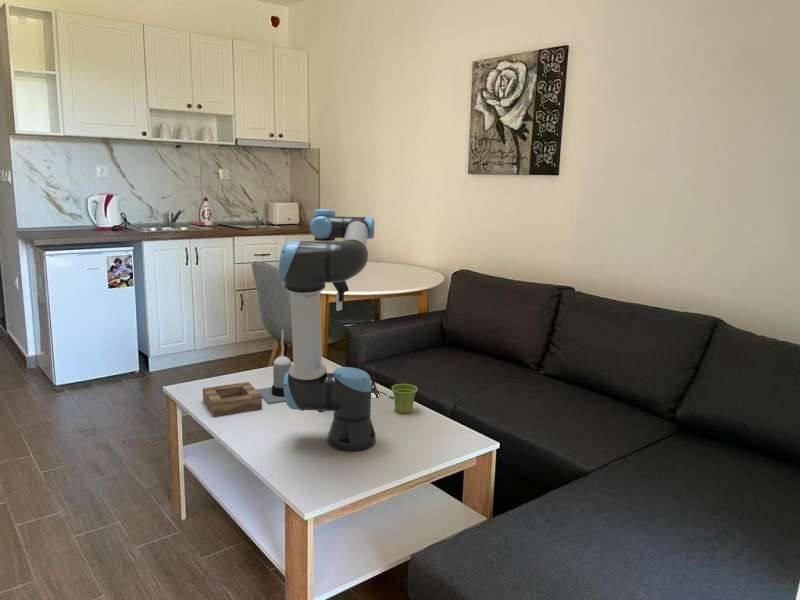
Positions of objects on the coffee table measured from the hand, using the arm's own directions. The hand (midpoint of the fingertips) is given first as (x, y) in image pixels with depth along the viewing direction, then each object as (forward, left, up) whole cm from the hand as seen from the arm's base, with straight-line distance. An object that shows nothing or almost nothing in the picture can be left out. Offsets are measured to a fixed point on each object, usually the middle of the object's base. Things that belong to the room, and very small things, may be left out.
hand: (324, 307), depth 219 cm
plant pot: (-27, -20, -35) cm, 48 cm away
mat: (+8, +14, -35) cm, 38 cm away
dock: (+5, +34, -35) cm, 49 cm away
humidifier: (+8, +14, -34) cm, 38 cm away
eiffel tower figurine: (-9, -17, -35) cm, 40 cm away
